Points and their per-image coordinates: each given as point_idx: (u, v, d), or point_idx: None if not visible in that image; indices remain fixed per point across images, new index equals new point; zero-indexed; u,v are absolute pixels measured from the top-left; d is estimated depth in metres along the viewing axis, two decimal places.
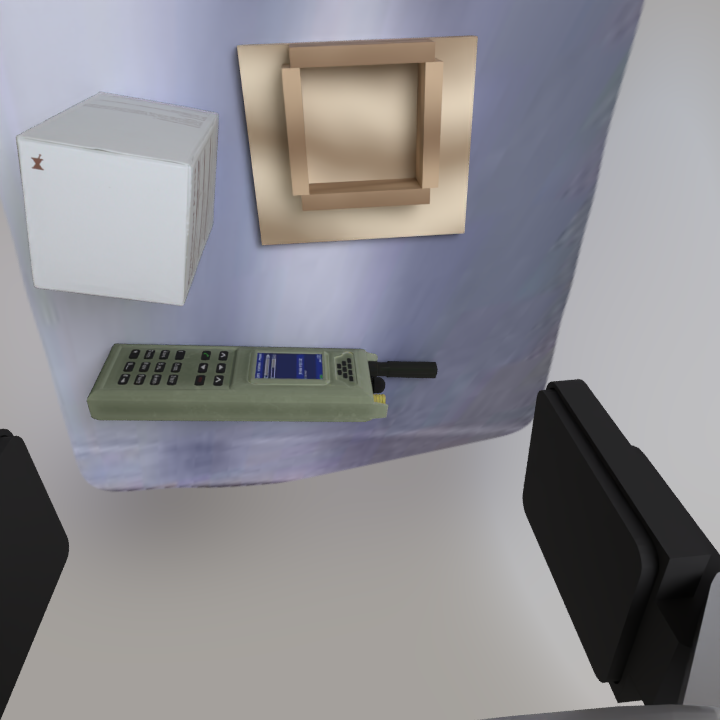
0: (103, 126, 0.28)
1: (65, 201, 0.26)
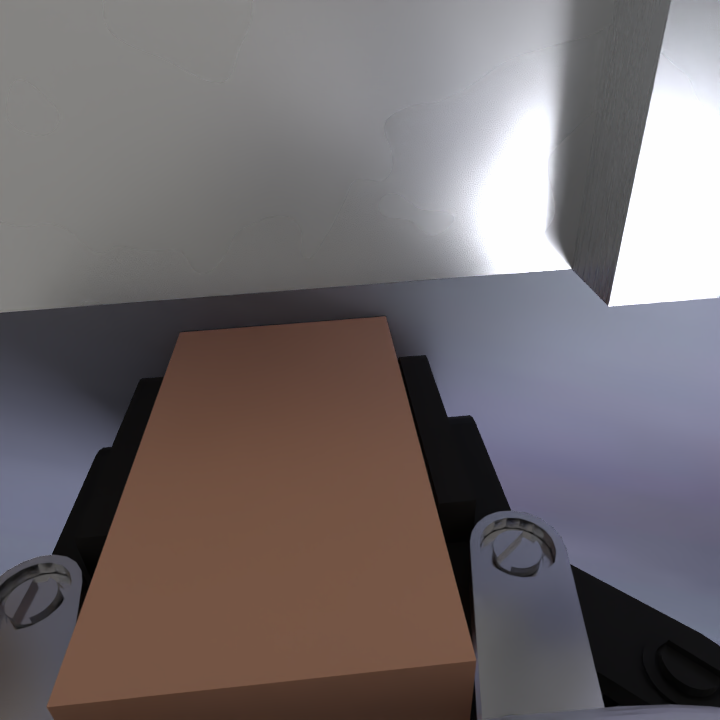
0: None
1: None
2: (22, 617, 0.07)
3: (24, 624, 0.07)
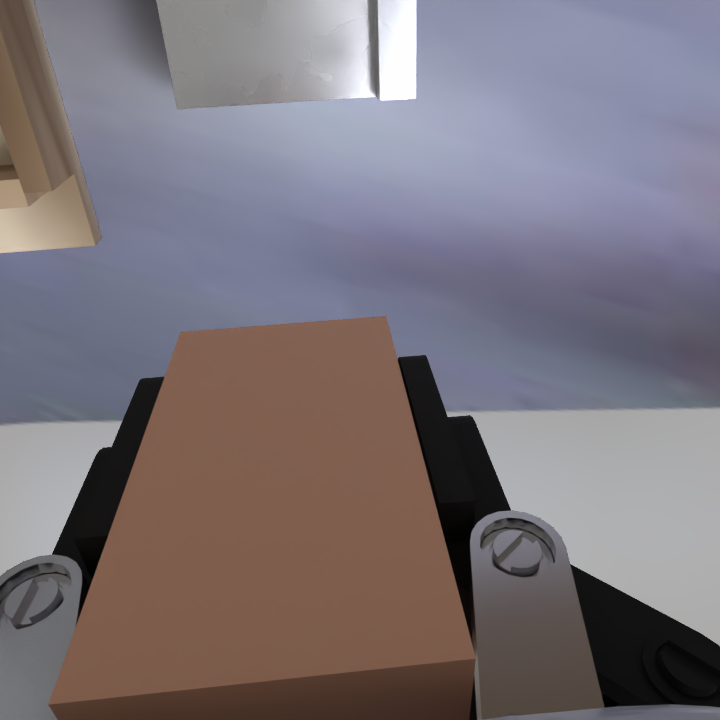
0: None
1: None
2: (22, 617, 0.07)
3: (24, 624, 0.07)
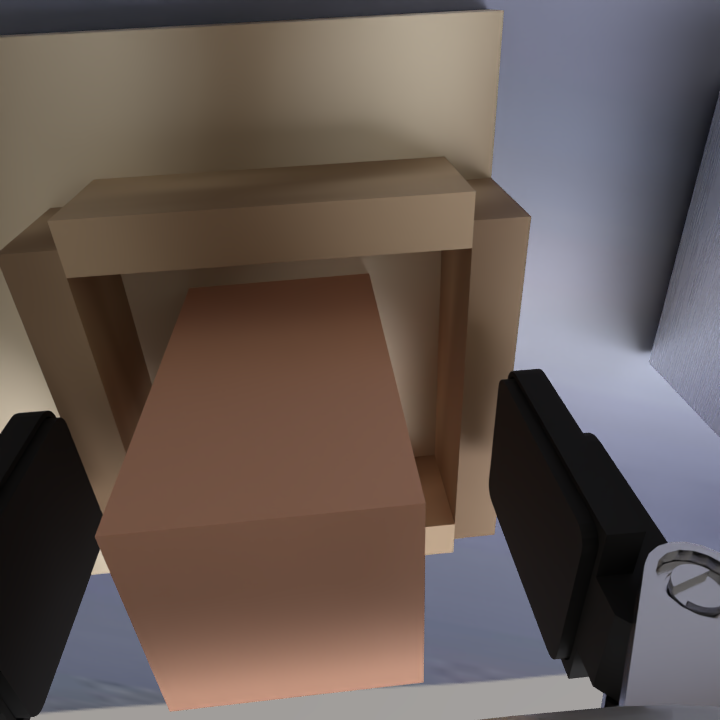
0: None
1: None
2: None
3: None
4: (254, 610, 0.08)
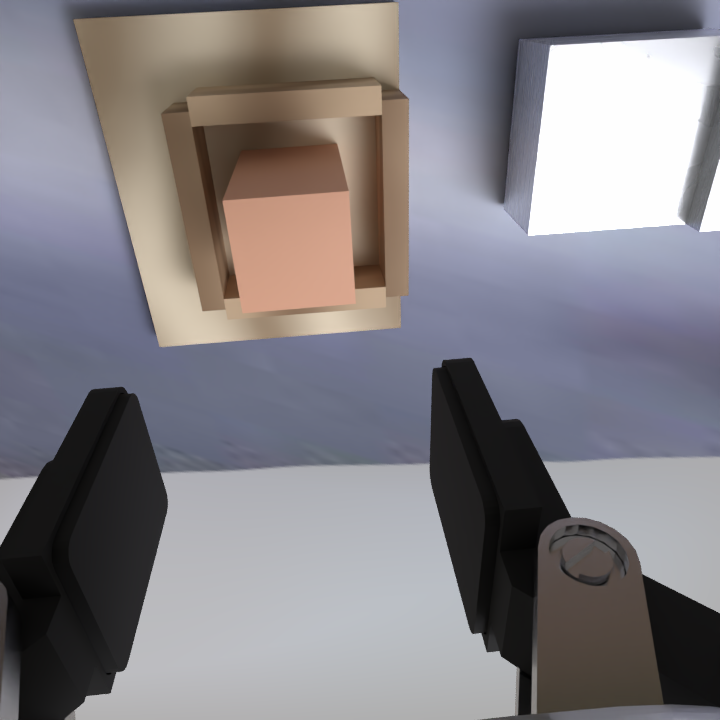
0: None
1: None
2: None
3: None
4: (281, 248, 0.19)
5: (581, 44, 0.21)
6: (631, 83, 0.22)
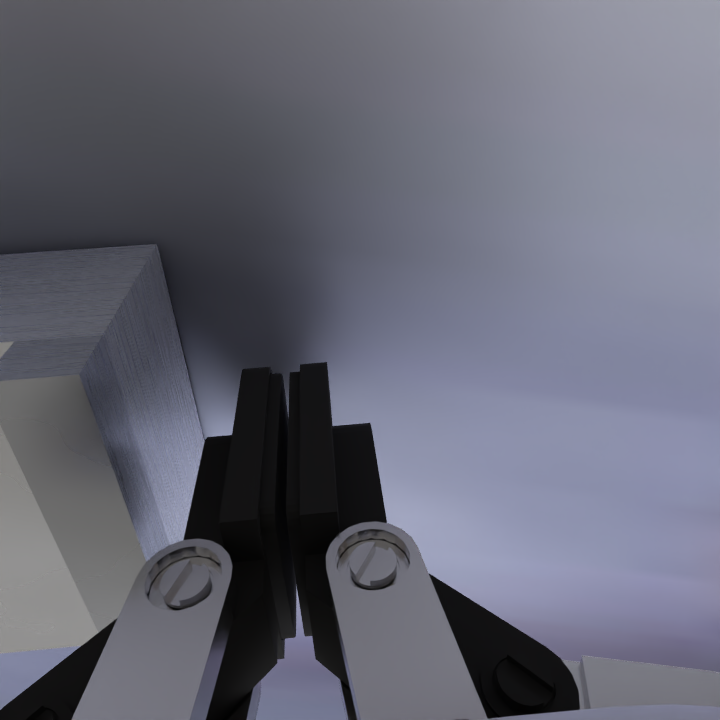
0: None
1: None
2: (173, 597, 0.07)
3: (173, 605, 0.07)
4: None
5: None
6: None
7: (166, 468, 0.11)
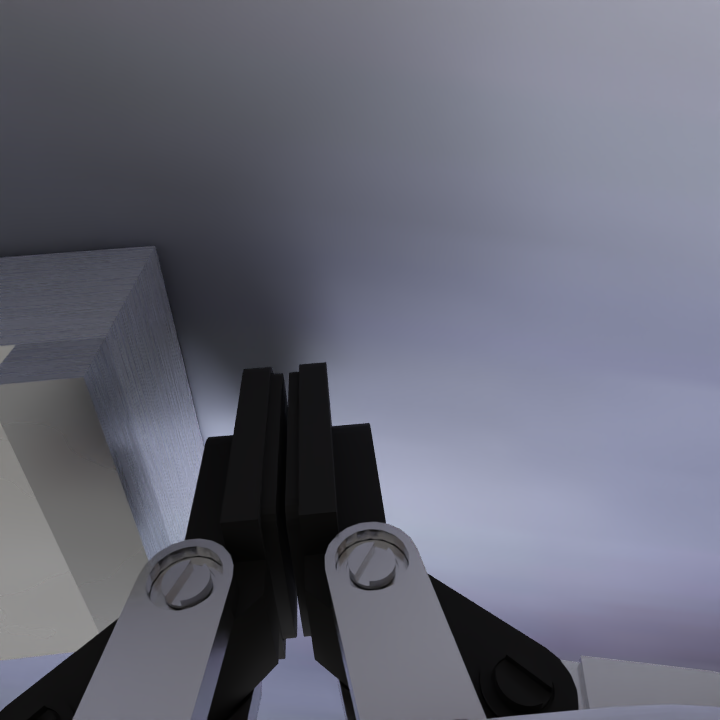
0: None
1: None
2: (174, 597, 0.07)
3: (174, 604, 0.07)
4: None
5: None
6: None
7: (168, 471, 0.11)
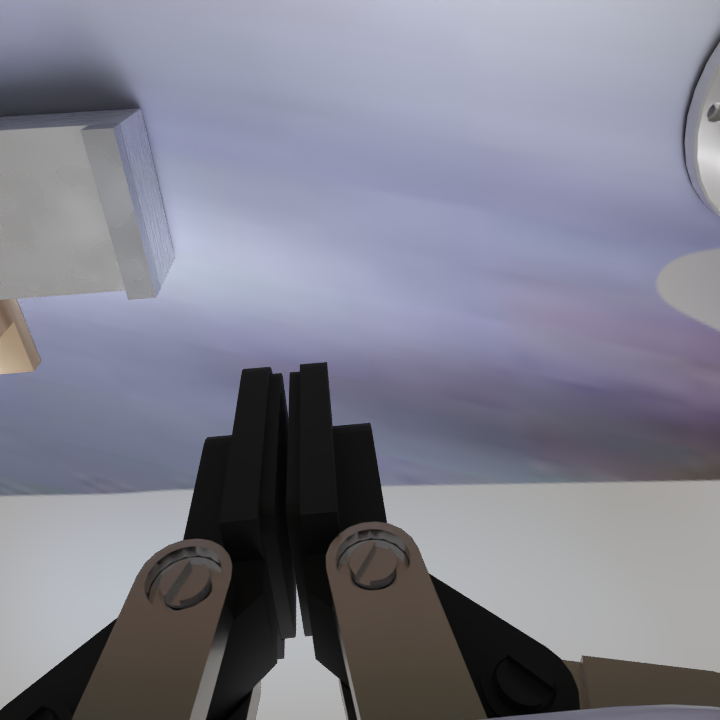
0: None
1: None
2: (173, 597, 0.07)
3: (173, 604, 0.07)
4: None
5: None
6: (7, 167, 0.23)
7: (145, 200, 0.25)
